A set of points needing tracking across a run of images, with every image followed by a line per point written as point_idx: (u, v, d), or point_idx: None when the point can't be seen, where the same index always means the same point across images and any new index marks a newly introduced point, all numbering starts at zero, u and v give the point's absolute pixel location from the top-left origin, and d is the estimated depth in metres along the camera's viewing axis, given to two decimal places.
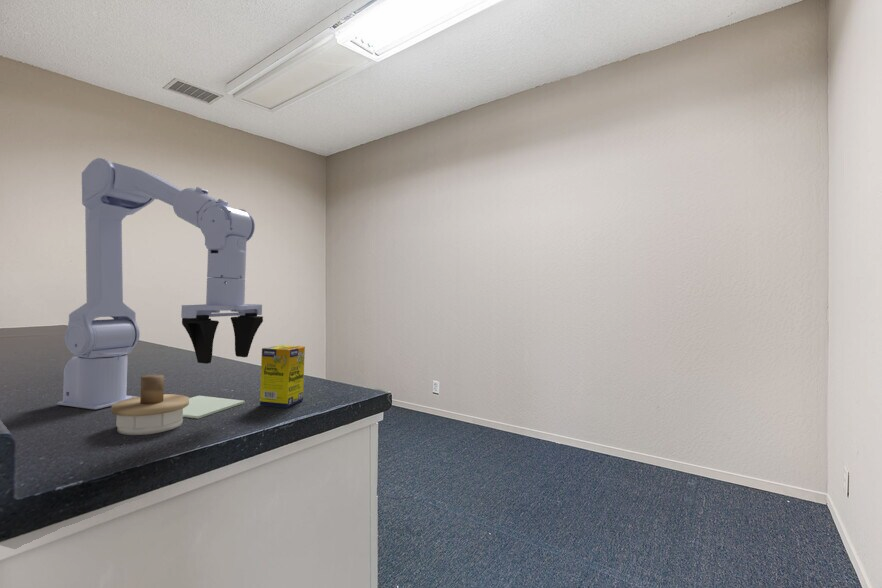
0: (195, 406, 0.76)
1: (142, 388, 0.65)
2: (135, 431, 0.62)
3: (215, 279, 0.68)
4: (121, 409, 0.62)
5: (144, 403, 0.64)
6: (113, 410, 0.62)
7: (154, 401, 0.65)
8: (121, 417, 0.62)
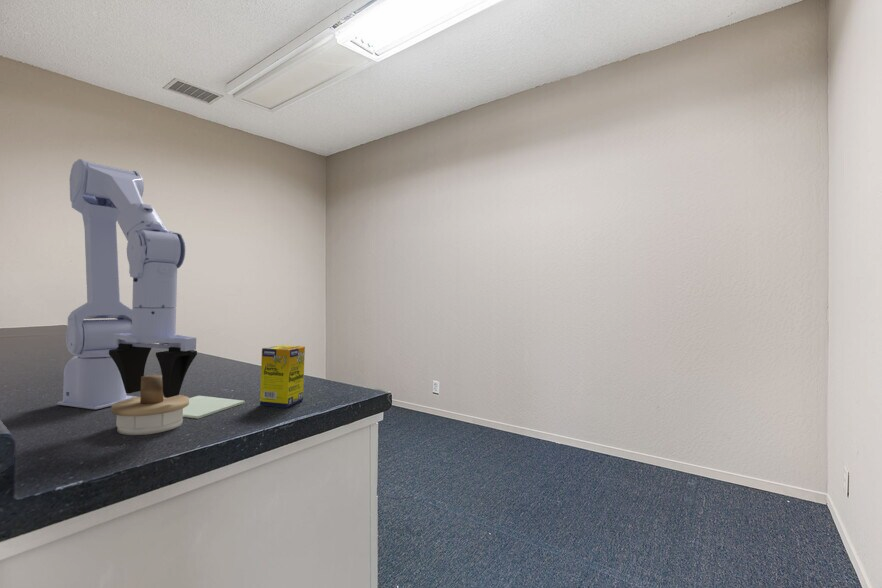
0: (195, 406, 0.76)
1: (142, 388, 0.65)
2: (135, 431, 0.62)
3: None
4: (121, 409, 0.62)
5: (144, 403, 0.64)
6: (113, 410, 0.62)
7: (154, 401, 0.65)
8: (121, 417, 0.62)
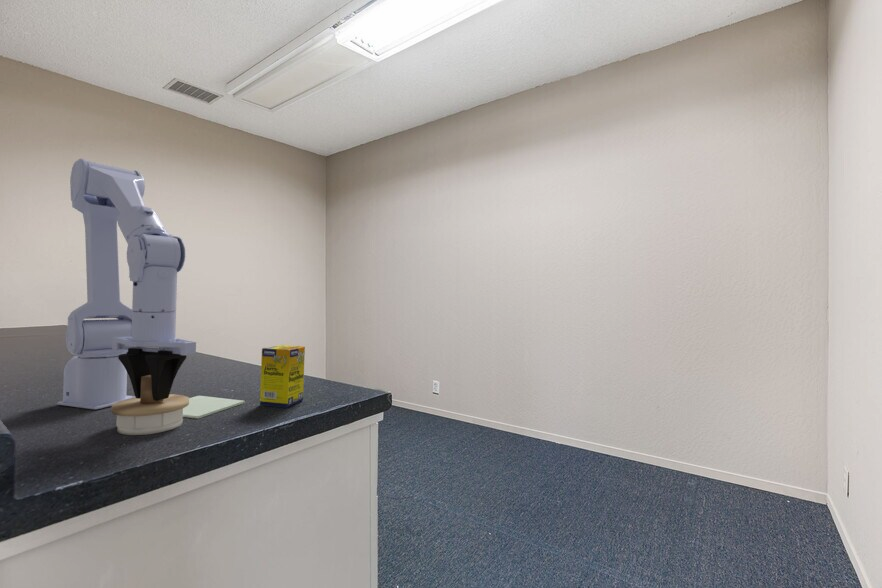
0: (195, 406, 0.76)
1: (142, 388, 0.65)
2: (135, 431, 0.62)
3: None
4: (121, 409, 0.62)
5: (144, 403, 0.64)
6: (113, 410, 0.62)
7: (154, 401, 0.65)
8: (121, 417, 0.62)
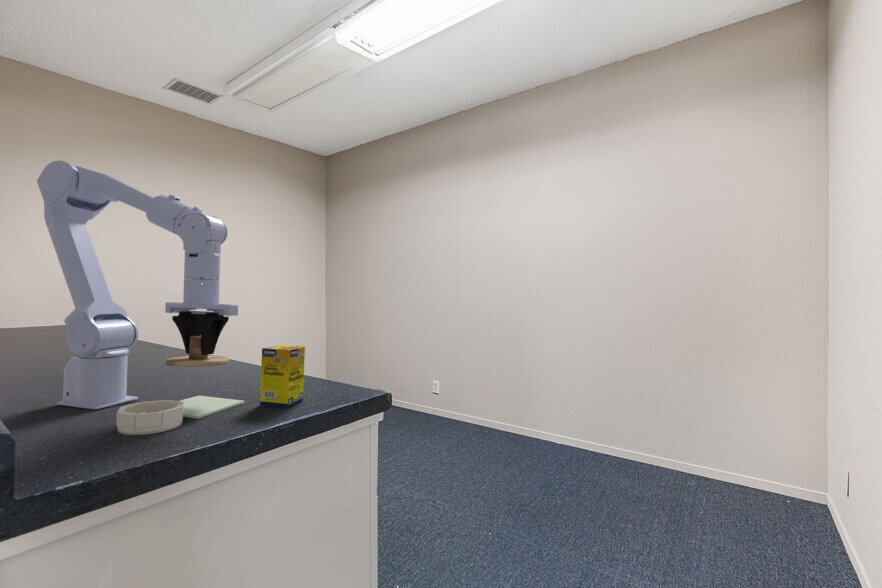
0: (195, 406, 0.76)
1: (191, 346, 0.75)
2: (135, 431, 0.62)
3: None
4: (175, 361, 0.72)
5: (193, 358, 0.75)
6: (168, 362, 0.73)
7: (201, 357, 0.76)
8: (121, 417, 0.62)
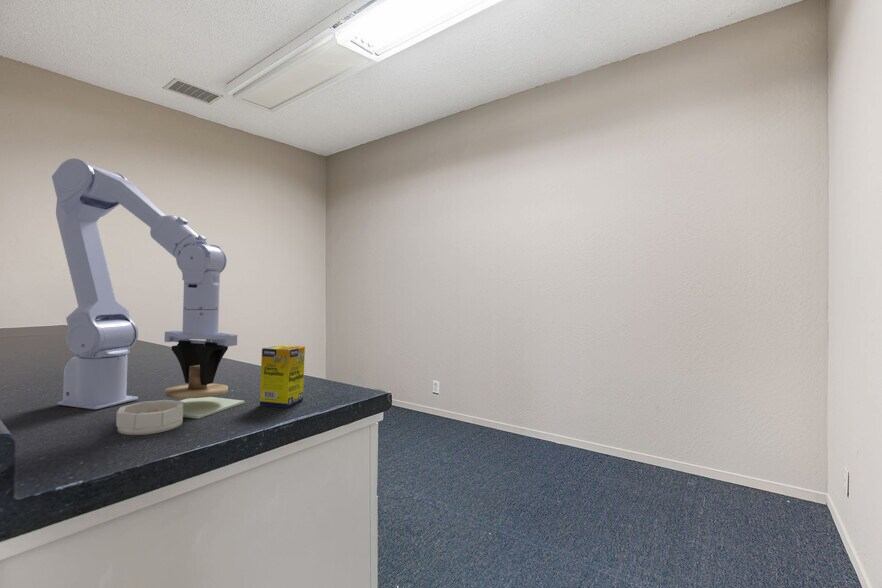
0: (195, 406, 0.76)
1: (190, 376, 0.75)
2: (135, 431, 0.62)
3: (186, 310, 0.77)
4: (175, 392, 0.72)
5: (192, 388, 0.75)
6: (167, 393, 0.73)
7: (200, 387, 0.76)
8: (121, 417, 0.62)
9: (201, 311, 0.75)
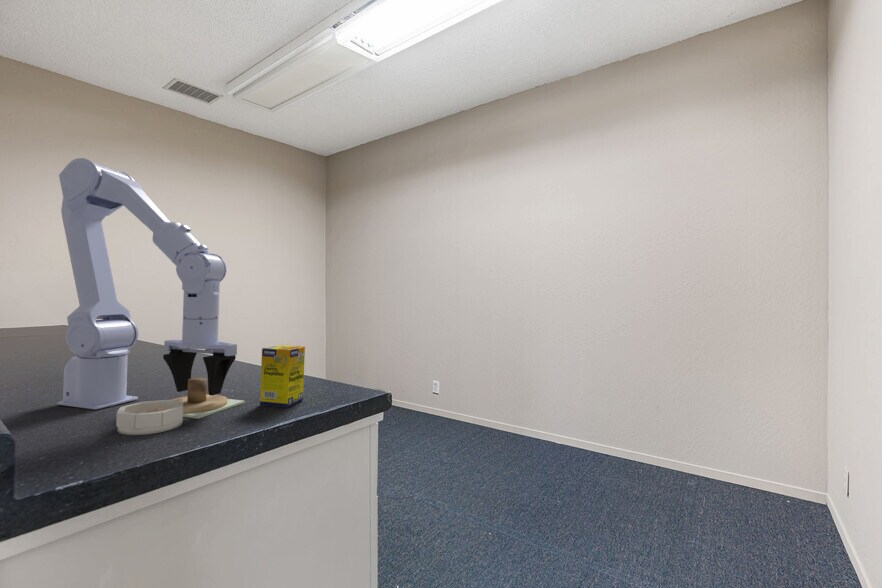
0: None
1: (189, 389, 0.75)
2: (135, 431, 0.62)
3: (185, 319, 0.77)
4: None
5: (191, 402, 0.75)
6: None
7: (199, 400, 0.76)
8: (121, 417, 0.62)
9: (201, 321, 0.75)
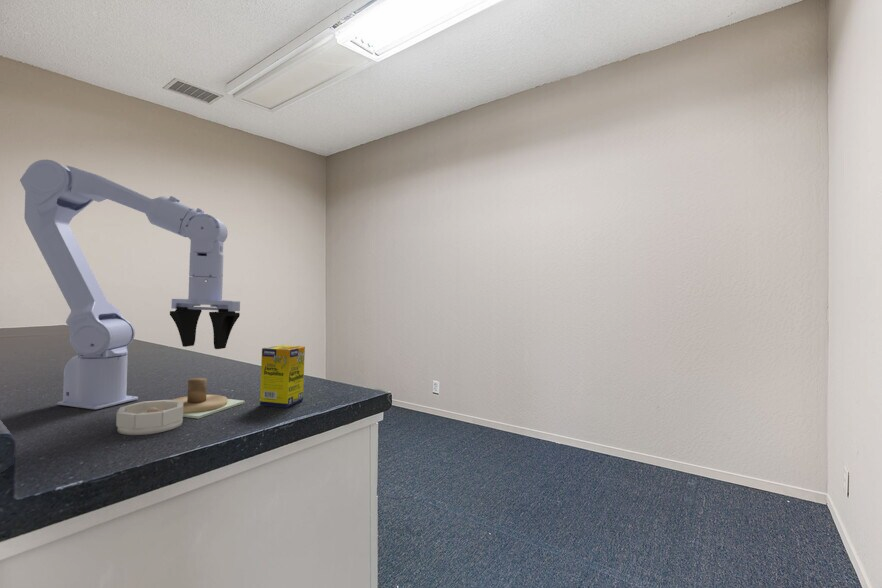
0: None
1: (189, 389, 0.75)
2: (135, 431, 0.62)
3: None
4: None
5: (191, 402, 0.75)
6: None
7: (199, 400, 0.76)
8: (121, 417, 0.62)
9: (206, 278, 0.79)
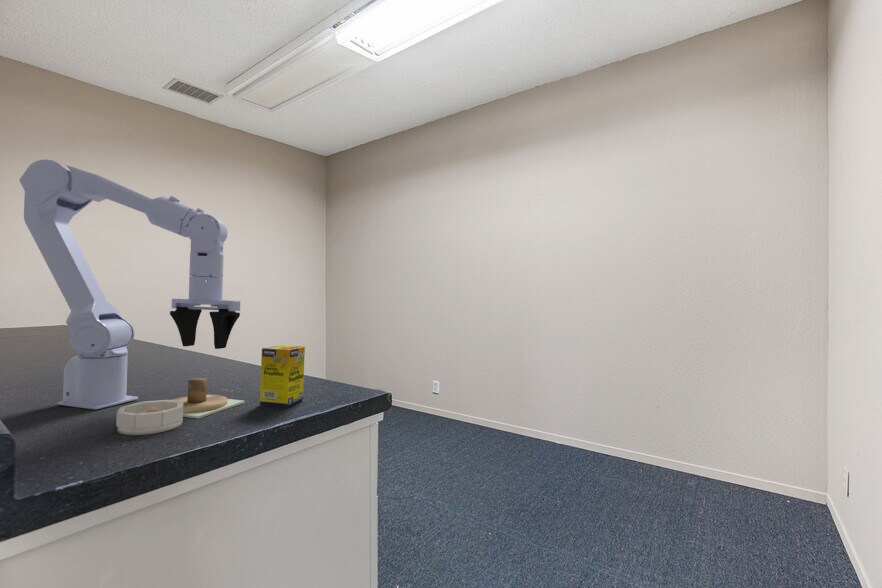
0: None
1: (189, 389, 0.75)
2: (135, 431, 0.62)
3: None
4: None
5: (191, 402, 0.75)
6: None
7: (199, 400, 0.76)
8: (121, 417, 0.62)
9: (206, 278, 0.79)
